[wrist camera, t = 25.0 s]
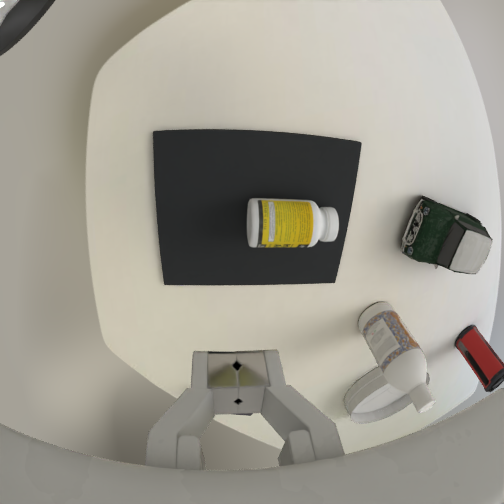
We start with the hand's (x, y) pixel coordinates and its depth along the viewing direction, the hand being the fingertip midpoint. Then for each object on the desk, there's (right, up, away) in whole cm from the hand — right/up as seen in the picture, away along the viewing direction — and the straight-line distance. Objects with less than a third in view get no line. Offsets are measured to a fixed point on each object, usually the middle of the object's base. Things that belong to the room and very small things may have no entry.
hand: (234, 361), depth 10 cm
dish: (+33, -29, +49) cm, 66 cm away
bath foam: (+22, -7, +36) cm, 42 cm away
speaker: (+56, -18, +45) cm, 74 cm away
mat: (+1, +9, +24) cm, 26 cm away
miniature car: (+31, +8, +28) cm, 43 cm away
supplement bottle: (0, +7, +21) cm, 22 cm away
